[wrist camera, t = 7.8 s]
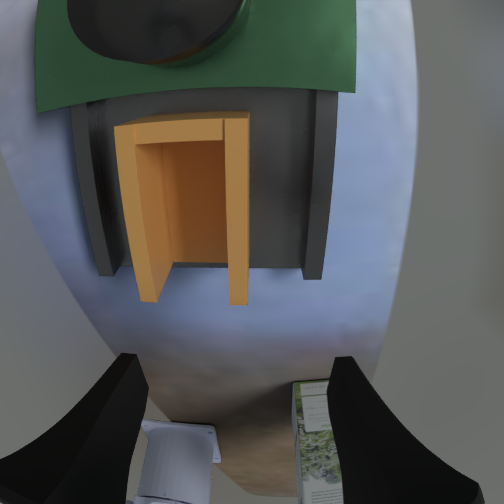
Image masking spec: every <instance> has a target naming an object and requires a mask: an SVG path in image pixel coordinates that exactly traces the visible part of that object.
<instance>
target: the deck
mask: <svg viewBox="0 0 504 504" xmlns="http://www.w3.org/2000/svg"><path fill="white" fill-rule="evenodd" d="M35 80H36V100H37V113H42V112H46V111H50V110H55V109H59V108H64V107H69V106H70V110H71V122H72V132H73V142H74V150H75V158H76V165H77V172H78V178H79V185H80V191H81V196H82V202H83V207H84V212H85V217H86V222H87V227H88V232H89V236H90V240H91V245H92V249H93V253H94V257H95V261H96V265H97V269H98V273H99V276H114V275H115V274H116V272H117V270H118V269H119V267H120V266H133V261H132V256H131V251H130V246H129V240H128V235H127V229H126V223H125V217H124V210H123V203H122V197H121V189H120V182H119V174H118V165H117V156H116V146H115V135H114V126H117V125H120V124H123V123H126V122H130V121H133V120H136V119H139V118H142V117H146V116H149V115H158V114H171V113H186V112H206V111H250V163H249V268H301V270H302V274H303V279H304V280H321V278H322V271H323V264H324V256H325V248H326V240H327V231H328V223H329V213H330V204H331V194H332V183H333V171H334V159H335V145H336V129H337V111H338V92H346V93H355V86H356V0H38V6H37V19H36V39H35ZM172 267H209V268H228V263H209V262H173V265H172Z"/></svg>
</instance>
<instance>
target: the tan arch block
mask: <svg viewBox="0 0 504 504" xmlns="http://www.w3.org/2000/svg"><path fill="white" fill-rule="evenodd" d="M114 135H115V146H116V156H117V165H118V174H119V182H120V189H121V197H122V203H123V210H124V217H125V223H126V229H127V235H128V240H129V246H130V251H131V256H132V261H133V266H134V271H135V276H136V281H137V285H138V290H139V294H140V298H141V302H158V299H159V297H160V294H161V292H162V289H163V287H164V284H165V282H166V279H167V277H168V274H169V272H170V270H171V267H172V265H173V262H209V263H228V274H229V299H230V305H248V278H249V163H250V111H206V112H186V113H171V114H158V115H149V116H146V117H142V118H139V119H136V120H133V121H130V122H126V123H123V124H120V125H117V126H114Z"/></svg>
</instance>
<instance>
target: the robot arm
mask: <svg viewBox="0 0 504 504" xmlns="http://www.w3.org/2000/svg"><path fill="white" fill-rule="evenodd" d="M148 389H149V387H148V384H147V382H146V379H145V376H144V374H143V371H142V368H141V365H140V363H139V360H138V357H137V354H129V353H121V354H120V355H119V356H118V358H117V359H116V360H115V361H114V362H113V363H112V365H111V366H110V367H109V368H108V369H107V371H106V372H105V373H104V374H103V375H102V377H101V378H100V379H99V380H98V381H97V382H96V383H95V385H94V386H93V387H92V388H91V389H90V390H89V392H88V393H87V394H86V395H85V396H84V397H83V398H82V399H81V400H80V401H79V402H78V403H77V404H76V405H75V406H74V407H73V408H72V409H71V410H70V411H69V412H68V413H67V414H66V415H65V416H64V417H63V418H62V419H61V420H60V421H59V422H57V423H56V424H55V425H54V426H53V427H51V428H50V429H49V430H47V431H46V432H45V433H44V434H42V435H41V436H40V437H38V438H37V439H36V440H34V441H32V442H31V443H29V444H28V445H26V446H24V447H23V448H21V449H20V450H18V451H16V452H14V453H13V454H11V455H9V456H7V457H4V458H2V459H0V502H1V503H3V504H209V499H210V487H211V476H212V464H213V463H220V462H221V456H220V451H219V446H218V441H217V435H216V430H215V427H214V426H211V425H198V424H186V423H176V422H166V421H158V420H149V419H143V416H144V413H145V408H146V402H147V396H148ZM326 392H327V402H328V412H329V418H330V423H331V427H332V431H333V436H334V440H335V445H336V449H337V454H338V458H339V463H340V469H341V477H342V489H343V504H484V503H485V501H484V498H483V494H482V491H481V488H480V486H479V484H478V483H477V482H475V481H474V480H472V479H470V478H468V477H467V476H465V475H463V474H461V473H460V472H458V471H456V470H455V469H453V468H452V467H451V466H449V465H447V464H446V463H445V462H444V461H442V460H441V459H440V458H439V457H437V456H436V455H434V454H433V453H432V452H431V451H430V450H428V449H427V448H426V447H425V446H424V445H423V444H422V443H420V441H418V440H417V439H416V438H415V437H414V436H413V435H412V434H411V433H410V432H409V431H408V430H407V429H406V428H405V427H404V425H403V424H402V423H401V422H400V421H399V420H398V419H397V418H396V416H395V415H394V414H393V413H392V412H391V411H390V409H389V408H388V407H387V405H386V404H385V403H384V402H383V400H382V399H381V398H380V396H379V395H378V394H377V392H376V391H375V390H374V388H373V387H372V385H371V384H370V382H369V381H368V380H367V378H366V377H365V375H364V374H363V372H362V371H361V369H360V368H359V366H358V364H357V363H356V361H355V360H354V358H353V357H352V356H347V357H335V360H334V364H333V368H332V372H331V376H330V380H329V383H328V387H327V391H326ZM141 426H142V428H143V430H144V432H145V433H146V436H147V437H148V439H149V441H148V445H147V450H146V455H145V459H144V464H143V468H142V473H141V478H140V483H139V488H138V493H137V495H135V498H134V503H133V502H132V501H129V500H127V501H126V493H127V482H128V476H129V469H130V463H131V459H132V455H133V451H134V448H135V444H136V441H137V437H138V433H139V430H140V427H141Z"/></svg>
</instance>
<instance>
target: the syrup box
mask: <svg viewBox="0 0 504 504" xmlns="http://www.w3.org/2000/svg"><path fill="white" fill-rule="evenodd" d="M329 380H330V379H326V380H316V381H304V382H294V383H293V393H292V427H293V435H294V446H295V458H296V475H297V493H298V504H343V489H342V477H341V469H340V463H339V458H338V454H337V449H336V445H335V440H334V436H333V431H332V427H331V423H330V418H329V412H328V402H327V392H326V391H327V387H328V383H329Z"/></svg>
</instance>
